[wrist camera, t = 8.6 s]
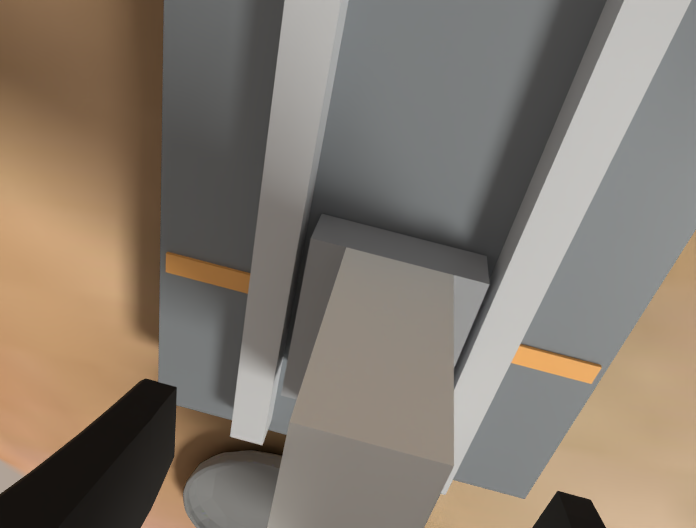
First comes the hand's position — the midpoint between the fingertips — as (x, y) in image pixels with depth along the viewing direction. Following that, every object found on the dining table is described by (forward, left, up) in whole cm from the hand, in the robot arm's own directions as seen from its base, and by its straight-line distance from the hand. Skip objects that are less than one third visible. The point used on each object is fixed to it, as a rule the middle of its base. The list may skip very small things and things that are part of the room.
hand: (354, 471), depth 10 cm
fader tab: (0, 0, -5) cm, 5 cm away
